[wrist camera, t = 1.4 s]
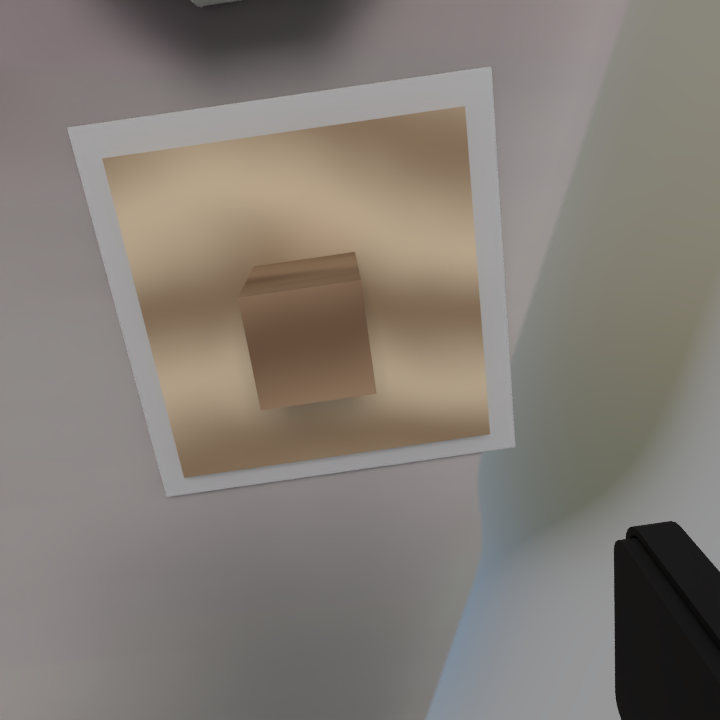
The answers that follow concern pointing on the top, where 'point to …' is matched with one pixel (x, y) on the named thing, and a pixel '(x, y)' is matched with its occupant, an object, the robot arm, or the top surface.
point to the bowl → (210, 2)
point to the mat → (284, 117)
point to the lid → (309, 289)
